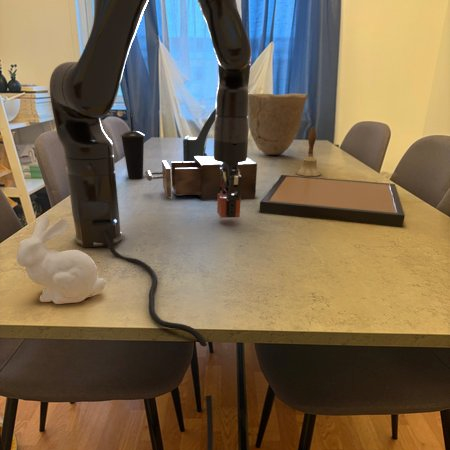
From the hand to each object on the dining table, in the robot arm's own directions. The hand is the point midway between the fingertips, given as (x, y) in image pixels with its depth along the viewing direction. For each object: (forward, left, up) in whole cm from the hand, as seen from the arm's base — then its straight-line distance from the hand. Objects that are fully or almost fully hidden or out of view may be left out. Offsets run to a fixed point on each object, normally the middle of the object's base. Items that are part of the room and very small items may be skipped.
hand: (228, 213), depth 103 cm
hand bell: (+52, -42, -3) cm, 67 cm away
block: (0, 0, 0) cm, 0 cm away
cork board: (+15, -34, -3) cm, 37 cm away
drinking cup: (+53, +20, -3) cm, 56 cm away
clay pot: (+93, -42, -3) cm, 102 cm away
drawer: (+28, +8, -1) cm, 29 cm away
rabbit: (-32, +35, -3) cm, 48 cm away
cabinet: (+28, -5, -2) cm, 28 cm away
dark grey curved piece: (+73, -8, -3) cm, 73 cm away
